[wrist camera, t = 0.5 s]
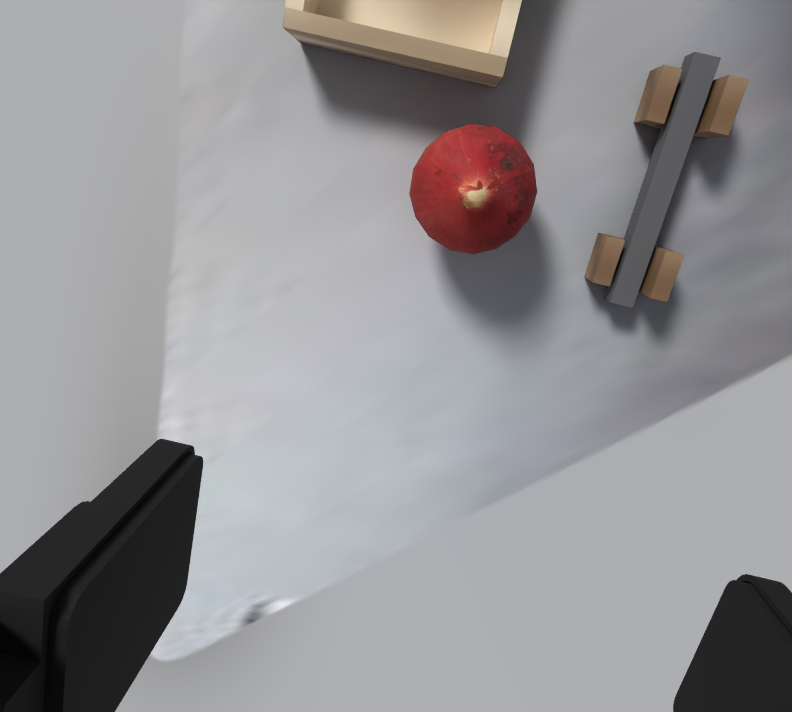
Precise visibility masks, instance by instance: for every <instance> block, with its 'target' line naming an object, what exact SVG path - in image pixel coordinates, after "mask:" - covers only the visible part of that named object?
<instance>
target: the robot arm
mask: <svg viewBox="0 0 792 712" xmlns="http://www.w3.org/2000/svg"><path fill="white" fill-rule="evenodd" d="M202 469H203V458H202V457H201V456H197V455H195V452H194V447H193V446H191V445H186V444H182V443H178V442H174V441H169V440H165V439H159V440H157V441H156V442H155V443H154V444H153V445H152V446H151V447H150V448H149V449H148V450H146V451H145V452H144V453H143V454H142V455H141V456H140V457H139V458H138V459H137V460H136V461H135V462H133V463H132V464H131V465H130V466H129V467H128V468H127V469H126V470H125V471H124V472H123V473H122V474H121V475H119V476H118V477H117V478H116V479H115V480H114V481H113V482H112V483H111V484H110V485H109V486H108V487H107V488H105V489H104V490H103V491H102V492H101V493H100V494H99V495H98V496H97V497H96V498H95V499H93V500H92V501H91V502H89V501H86V502H81V503H80V504H78V505H77V506H75V507H74V508H73V509H72V510H71V511H70V512H69V513H67V514H66V515H65V516H64V517H63V518H62V519H61V520H60V521H58V522H57V523H56V524H55V525H54V526H53V527H52V528H51V529H50V530H48V531H47V532H46V533H45V534H44V535H43V536H42V537H41V538H39V539H38V540H37V541H36V542H35V543H34V544H33V545H32V546H31V547H29V548H28V549H27V550H26V551H25V552H24V553H23V554H22V555H21V556H19V557H18V559H16V560H15V561H14V562H13V563H12V564H11V565H9V566H8V567H7V568H6V569H5V570H4V571H3V572H2V573H1V574H0V712H115V710H116V709H117V707H118V705H119V704H120V702H121V701H122V699H123V697H124V696H125V694H126V692H127V691H128V689H129V687H130V686H131V684H132V683H133V681H134V679H135V678H136V676H137V674H138V673H139V671H140V669H141V668H142V666H143V665H144V663H145V661H146V659H147V658H148V656H149V655H150V653H151V651H152V650H153V648H154V646H155V645H156V643H157V642H158V640H159V638H160V637H161V635H162V633H163V632H164V630H165V628H166V627H167V625H168V624H169V622H170V620H171V619H172V617H173V615H174V614H175V612H176V610H177V609H178V607H179V605H180V603H181V601H182V599H183V596H184V593H185V590H186V585H187V579H188V572H189V564H190V557H191V550H192V542H193V535H194V528H195V520H196V513H197V506H198V498H199V491H200V483H201V476H202ZM673 710H674V711H673V712H792V593H791V592H790V590H789V589H788V588H787V587H786V586H785V585H784V584H782V583H781V582H777V581H773V580H769V579H765V578H761V577H756V576H752V575H748V574H746V575H742V576H740V577H739V578H738V579H737V580H733V581H730V582H729V583H728V584H727V586H726V587H725V590H724V592H723V594H722V596H721V598H720V601H719V603H718V605H717V607H716V609H715V611H714V613H713V616H712V618H711V620H710V622H709V624H708V627H707V629H706V631H705V633H704V635H703V638H702V640H701V642H700V644H699V646H698V648H697V651H696V653H695V655H694V657H693V659H692V661H691V664H690V666H689V668H688V670H687V673H686V675H685V677H684V679H683V681H682V683H681V685H680V688H679V690H678V692H677V694H676V697H675V700H674V705H673Z"/></svg>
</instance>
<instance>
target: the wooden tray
mask: <svg viewBox="0 0 792 712" xmlns="http://www.w3.org/2000/svg"><path fill="white" fill-rule="evenodd" d="M521 2H522V0H286V5H285V12H284V19H283V28H284V29H285V30H286V31H288V32H289V33H290V34H291V35H292V36H293V37H294V38H295V39H296V40H298V41H299V42H300V43H303V44H307V45H312V46H316V47H321V48H325V49H329V50H334V51H338V52H342V53H347V54H351V55H356V56H360V57H364V58H369V59H373V60H377V61H382V62H386V63H391V64H395V65H399V66H404V67H408V68H412V69H417V70H421V71H426V72H430V73H434V74H439V75H443V76H447V77H452V78H456V79H461V80H465V81H469V82H474V83H478V84H482V85H487V86H491V87H497V85H498V84H499V82H500V81H501V79H502V78H503V74H504V70H505V66H506V62H507V58H508V54H509V50H510V46H511V42H512V38H513V34H514V30H515V26H516V22H517V18H518V14H519V10H520V6H521Z"/></svg>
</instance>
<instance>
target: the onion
mask: <svg viewBox="0 0 792 712" xmlns="http://www.w3.org/2000/svg"><path fill="white" fill-rule="evenodd" d="M536 194H537V187H536V179H535V171H534V164H533V162H532V161H531V159H530V158H529V156H528V154H527V153H526V151H525V150H524V148H523V146H522V145H521V143H520V142H519V140H517V139H515V138H514V137H512V136H510V135H509V134H507V133H505V132H504V131H502V130H500V129H499V128H497V127H495V126H485V125H473V124H469V125H465V126H462V127H459V128H456V129H453V130H450V131H447V132H445V133H444V134H442V135H441V136H440V137H439V138H438V139H436V140H435V141H434V142H433V143H431V144H430V145H429V146H428V147H426V149H425V151H424V152H423V154H422V155H421V157H420V159H419V160H418V162H417V164H416V165H415V167H414V169H413V174H412V181H411V187H410V198H411V201H412V205H413V209H414V213H415V217H416V219H417V220H418V221H419V223H420V224H421V226H422V227H423V229H424V230H425V231H426V233H427V234H428V236H429V237H431V238H432V239H434V240H435V241H437V242H438V243H440V244H442V245H443V246H445V247H446V248H448V249H450V250H454V251H459V252H465V253H470V254H476V253H480V252H484V251H488V250H492V249H496V248H498V247H499V246H501V245H502V244H504V243H505V242H507V241H508V240H510V239H511V238H513V237H514V236H515V235H516V234H517V233H518V232H519V230H520V229H521V228H522V227H523V225H524V224H525V223H526V221H527V220H528V219H529V217H530V215H531V212H532V208H533V205H534V201H535V198H536Z"/></svg>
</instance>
